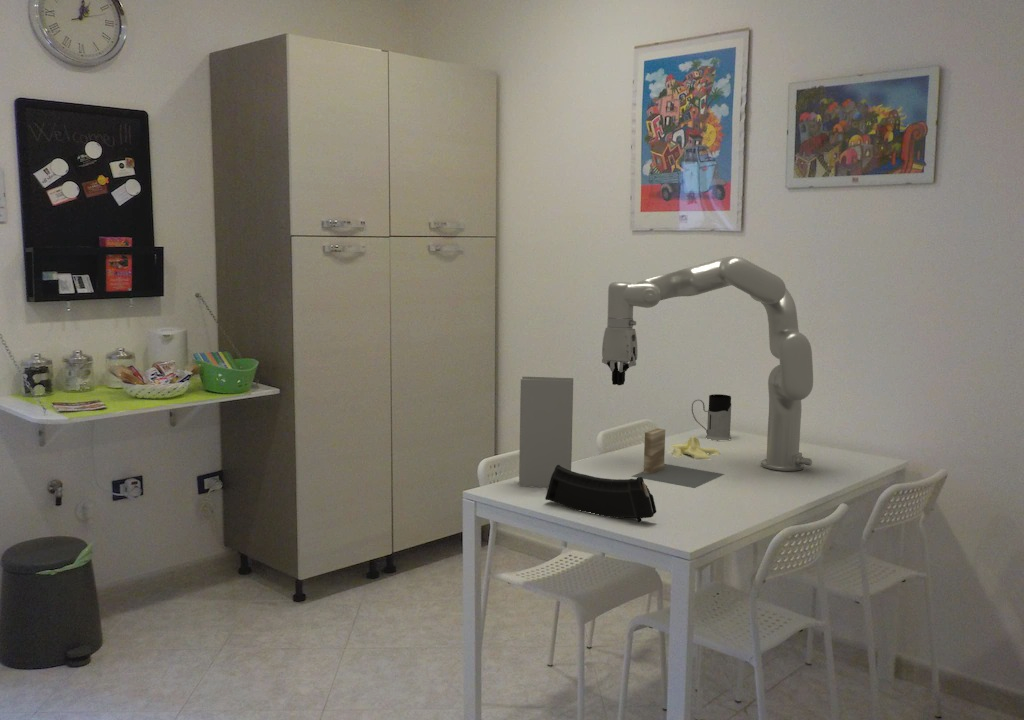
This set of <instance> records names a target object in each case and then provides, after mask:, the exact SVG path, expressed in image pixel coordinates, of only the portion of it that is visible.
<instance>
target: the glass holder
mask: <svg viewBox="0 0 1024 720" xmlns="http://www.w3.org/2000/svg"><path fill="white" fill-rule="evenodd" d="M698 401H699V402H701V403H702V409H703V411H704V412H705V413H707V423H706V424H707V425H706V426H707V428H706V427H705V426H704V425H702V424H701V423H700V422H699V421H698V420H697V418H696V415H694V403H695V402H698ZM705 408H706V407H705V402H704V401H703V400H701V399H698V398H697V399H694V400H693V401H692V403H691V414H692V417H693V418H694V421H695V422H696V423H697V424H698V425H700V426H701V427H702V429H704V430H705V431H706V435H705V439H706V438H707V439H706V440H708V439H711V440H710V441H713V440H729V439H731V440H732V437H731V419H732V396H731V395H727V394H721V393H720V394H719V393H717V394H716V393H715V394H713V393H712V394H710V395H708V409H707V410H706V409H705ZM729 441H730V440H729Z"/></svg>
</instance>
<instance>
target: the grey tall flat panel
mask: <svg viewBox="0 0 1024 720" xmlns="http://www.w3.org/2000/svg"><path fill="white" fill-rule="evenodd" d="M519 395H520V401H519V403H520V405H519V409H520V410H519V455H518V456H519V459H518V460H519V461H518V463H519V467H518V471H519V472H518V474H519V476H518V487H528V486H533V487H532V488H534V487H535V488H548V487H549V483H550V480H551V476H552V474H553V472H554V470H555V467H556V466H557V465H560V466H561V467H563V468H565V469H567V470H570V471H572V455H573V454H572V452H573V412H574V411H573V410H574V409H573V408H574V406H573V405H574V378H573V377H555V376H553V377H551V376H549V377H548V376H547V377H546V376H545V377H544V376H522V379H520V394H519Z"/></svg>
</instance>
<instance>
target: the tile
mask: <svg viewBox="0 0 1024 720" xmlns="http://www.w3.org/2000/svg"><path fill="white" fill-rule="evenodd" d="M643 445H644V448H643V449H644V450H643V453H644V455H643V471H644V473H648V474H653V473H655V472H658V471H660V470H663V469H664V464H665V453H666V451H665V450H666V448H665V447H666V429H663V428H655V429H652V430H649V431H646V432H644V444H643Z"/></svg>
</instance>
